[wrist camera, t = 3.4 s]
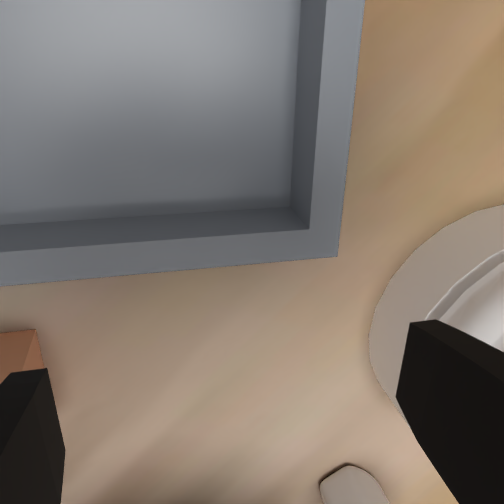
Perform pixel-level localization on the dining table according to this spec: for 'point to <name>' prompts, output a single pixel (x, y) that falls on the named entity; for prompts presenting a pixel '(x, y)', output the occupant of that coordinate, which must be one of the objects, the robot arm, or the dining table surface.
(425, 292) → the honey pot
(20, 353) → the block
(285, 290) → the dining table surface
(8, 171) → the tray
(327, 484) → the eye dropper bottle
